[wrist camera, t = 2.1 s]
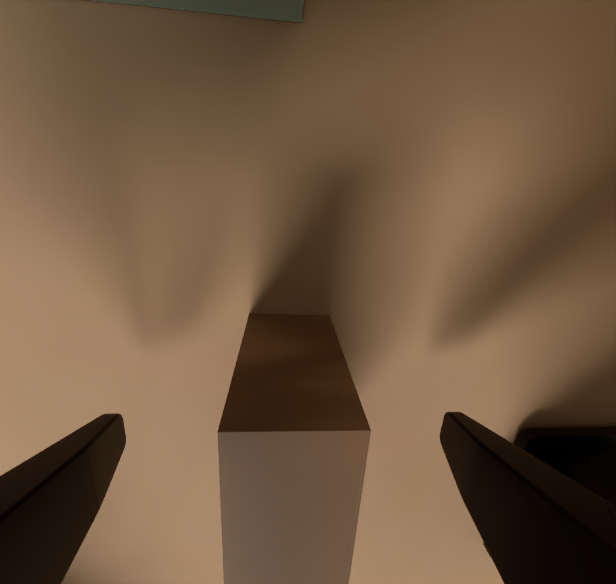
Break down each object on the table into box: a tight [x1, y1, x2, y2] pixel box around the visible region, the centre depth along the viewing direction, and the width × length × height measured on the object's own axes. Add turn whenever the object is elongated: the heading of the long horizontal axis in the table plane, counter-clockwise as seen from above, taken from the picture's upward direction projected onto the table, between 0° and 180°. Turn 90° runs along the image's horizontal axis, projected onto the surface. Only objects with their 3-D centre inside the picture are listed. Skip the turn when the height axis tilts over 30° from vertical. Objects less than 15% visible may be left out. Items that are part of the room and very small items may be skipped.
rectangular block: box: [218, 314, 371, 584], centre depth 8 cm, size 2×5×5 cm, turn 177°
